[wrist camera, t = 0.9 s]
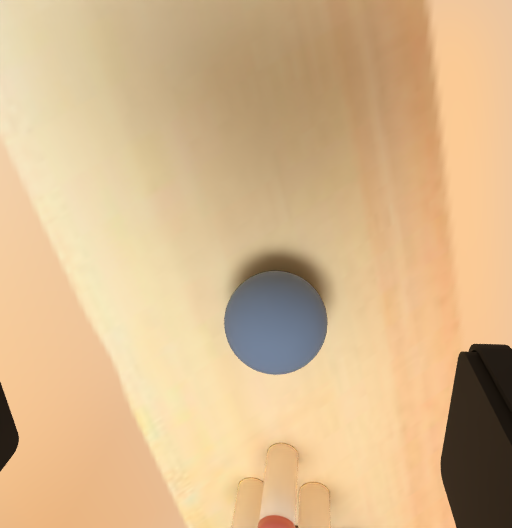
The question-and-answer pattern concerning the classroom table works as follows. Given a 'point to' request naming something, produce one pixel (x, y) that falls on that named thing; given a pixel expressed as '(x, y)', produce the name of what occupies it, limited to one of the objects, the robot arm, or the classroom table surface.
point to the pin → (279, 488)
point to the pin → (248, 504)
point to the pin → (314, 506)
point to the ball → (275, 322)
